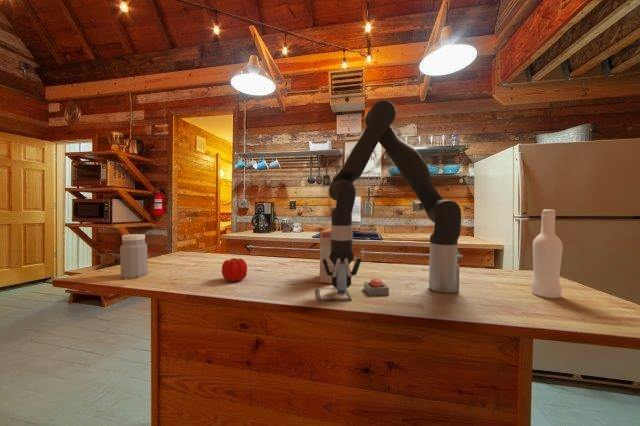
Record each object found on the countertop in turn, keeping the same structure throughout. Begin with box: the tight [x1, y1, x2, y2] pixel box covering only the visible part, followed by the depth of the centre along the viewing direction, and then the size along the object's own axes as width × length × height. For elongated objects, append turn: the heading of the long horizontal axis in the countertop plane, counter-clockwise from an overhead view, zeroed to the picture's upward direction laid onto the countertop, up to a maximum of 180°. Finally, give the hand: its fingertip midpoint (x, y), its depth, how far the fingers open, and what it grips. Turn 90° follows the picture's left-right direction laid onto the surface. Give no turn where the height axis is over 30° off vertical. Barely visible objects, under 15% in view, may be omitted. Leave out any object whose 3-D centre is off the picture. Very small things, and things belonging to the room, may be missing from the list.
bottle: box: [530, 208, 564, 299], centre depth 90 cm, size 8×8×30 cm
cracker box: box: [319, 228, 334, 285], centre depth 109 cm, size 14×6×21 cm, turn 163°
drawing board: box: [315, 287, 353, 303], centre depth 90 cm, size 11×11×1 cm
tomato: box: [221, 257, 248, 283], centre depth 107 cm, size 11×11×9 cm
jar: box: [119, 233, 149, 279], centre depth 113 cm, size 10×10×18 cm
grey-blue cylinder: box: [336, 261, 348, 294], centre depth 90 cm, size 4×4×11 cm
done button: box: [370, 278, 383, 287], centre depth 93 cm, size 4×4×2 cm
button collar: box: [363, 281, 390, 297], centre depth 94 cm, size 7×7×2 cm
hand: (341, 286), depth 91 cm, fingers closed on grey-blue cylinder, 4 cm apart
